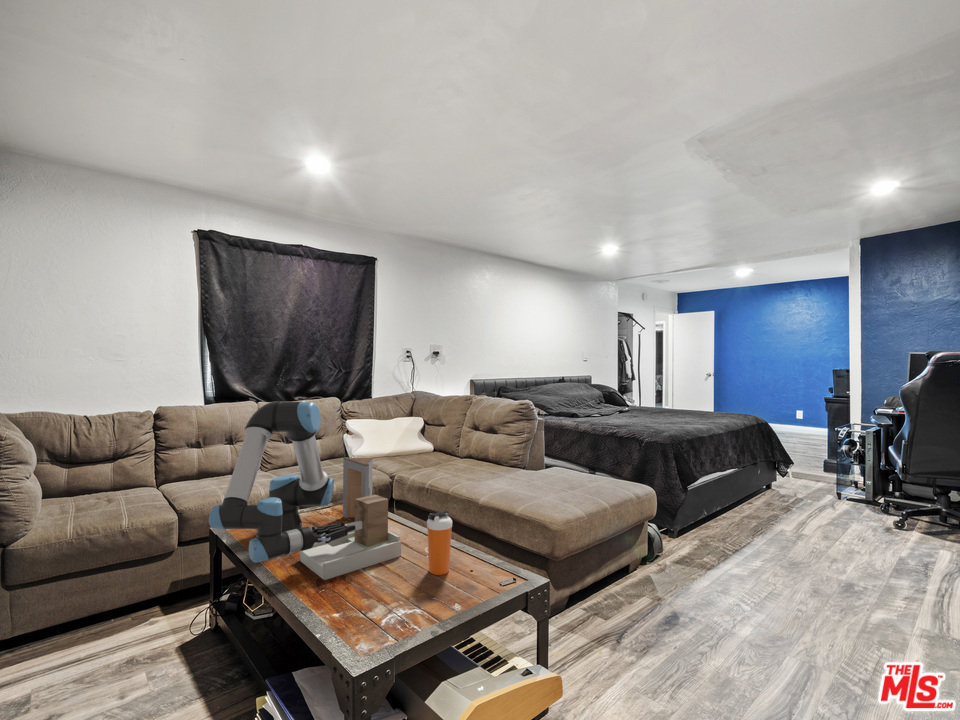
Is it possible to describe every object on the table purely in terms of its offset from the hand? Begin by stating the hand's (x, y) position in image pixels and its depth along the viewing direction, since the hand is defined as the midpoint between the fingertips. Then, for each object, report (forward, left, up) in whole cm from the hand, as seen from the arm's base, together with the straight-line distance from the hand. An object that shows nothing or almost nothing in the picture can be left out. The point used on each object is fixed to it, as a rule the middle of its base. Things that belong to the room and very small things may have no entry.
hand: (361, 524), depth 176 cm
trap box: (0, -4, -11) cm, 12 cm away
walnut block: (-1, +5, -7) cm, 9 cm away
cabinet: (-35, +20, -12) cm, 42 cm away
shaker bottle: (+30, +14, -12) cm, 35 cm away
